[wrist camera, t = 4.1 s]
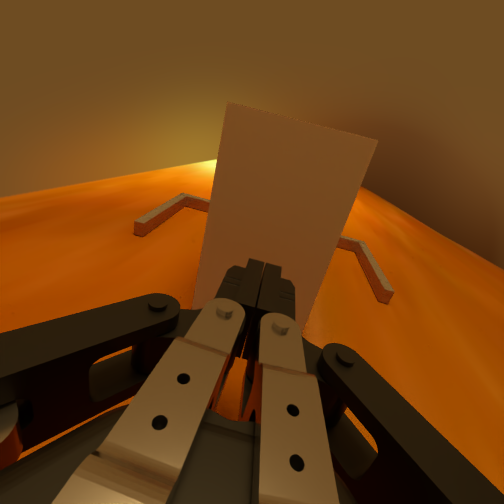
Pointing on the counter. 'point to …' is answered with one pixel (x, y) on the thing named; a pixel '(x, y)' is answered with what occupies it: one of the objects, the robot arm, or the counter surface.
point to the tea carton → (279, 200)
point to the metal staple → (357, 246)
